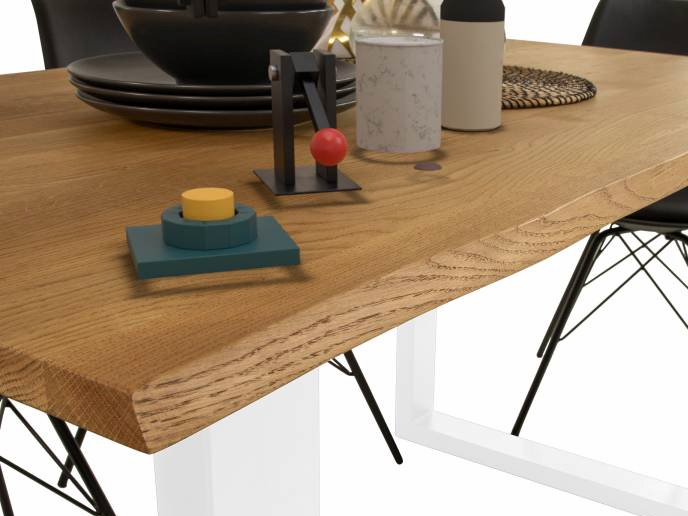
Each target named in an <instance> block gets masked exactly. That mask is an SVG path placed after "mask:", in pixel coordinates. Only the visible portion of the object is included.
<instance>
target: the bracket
mask: <svg viewBox="0 0 688 516" xmlns="http://www.w3.org/2000/svg"><path fill="white" fill-rule="evenodd" d="M312 52H313V55H314V57H315V60H316V63H317V66H318V68H319V71H320V72H319V79H318V86H317V91H318V94H319V97H320V100H321V103H322V105H323V108H324V111H325V114H326V117H327V119H328V122H329V125H330V128H333V129H336V130H338V121H337V120H338V119H337V118H338V117H337V115H338V114H337V76H338V69H337V56H336V54H335V53H333V52H331V51H328V50H326V49H324V48H313V49H312ZM268 78H269V81H270V91H271V116H272V117H271V120H272V145H273V168H257V169H256V168H255V169H253V170H252V172H253V174H254V175H255V176H256V177H257V178H258V179H259V180H260V182H262V183H263V185H265V187H266V188H267V189H268V190H269V191H270V192H271V194H273V196H274V197H282V196H298V195H299V196H300V195H310V194H311V195H312V194H313V195H314V194H325V193H326V194H327V193H339V192H353V191H363V187H362V186H360V185H359V184H358V183H357V182H355V181H354V180H353V179H352V178H350V177H349V176H348V175H347V174H345V173H344V172H343V171H341V170H340V169H339V168H338V164H337V165H334V166H325V165H322V164H320V163H318V162H317V161H316V160H315V159H314V160H315V161H314V163H315V165H308V166H307V165H305V166H304V165H303V166H296V157H295V156H296V155H295V154H296V153H295V125H294V124H295V123H294V96H293V95H294V93H293V87H292V56H291V55H290V54H289V53H288V52H286V51H284V50H282V49H269V65H268ZM315 133H316V132H315V131H314V134H315Z"/></svg>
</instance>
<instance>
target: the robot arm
mask: <svg viewBox="0 0 688 516" xmlns="http://www.w3.org/2000/svg"><path fill="white" fill-rule="evenodd" d="M176 2H177V6H180V7H181V6H182V7H183V6H186V14H187V17H189V18H190V19H192V20H202V18H207V19H209V20H215V19H218V18H219V8H218V6H225V5H226V2H227V1H226V0H176Z"/></svg>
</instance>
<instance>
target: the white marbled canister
mask: <svg viewBox="0 0 688 516" xmlns="http://www.w3.org/2000/svg"><path fill="white" fill-rule="evenodd" d="M354 42H355V124H356V125H355V129H356V131H355V132H356V133H355V136H356V137H355V139H356V140H355V141H356V142H355V143H356V146H357V147H358V148H360V149H363V150H367V151H372V152H380V153H388V154H389V153H391V154H393V153H394V154H410V153H423V152H424V153H425V152H430V151H433V150H436V149H438V148H440V147H441V146H442V126H441V103H442V53H443V43H444V41H443V39H440V37H433V36H426V35H425V36H424V35H410V34H409V35H408V34H374V35H363V36H362V35H361V36H357V37H354Z"/></svg>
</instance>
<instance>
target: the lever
mask: <svg viewBox="0 0 688 516" xmlns="http://www.w3.org/2000/svg"><path fill="white" fill-rule="evenodd" d="M288 54H290V55H291V56H292V87H293V94H299V93H301V94H302V96H303V98H304V102H305V105H306V108H307V111H308V114H309V117H310V120H311V122H312V123H311V124H312V125H313V128H314V134H313V135H312V138H311V140H310V144H309V150H310V154H311V156H312V158H313V159H314V160H316V161H317V162H318V163H320V164H322V165H325V166H334V165H337V166H338V164H341V162H343V161H344V159H345V158H346V156H347V155H348V150H349V143H348V140H347V138H346V136H345V135H344V134H343V132H341V131H340V130H338V129H337V130H336V129H333V128H330V125H329V122H328V119H327V117H326V114H325V111H324V108H323V105H322V103H321V100H320V97H319V94H318V91H317V86H318V79H319V72H320V71H319V68H318V66H317V63H316V60H315V57H314V55H313V51H300V52H299V51H294V52H291V51H290V52H289V53H288ZM315 132H316V133H315Z"/></svg>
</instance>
